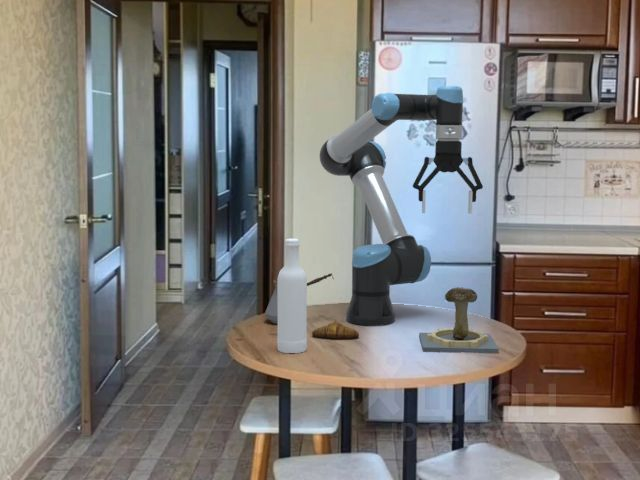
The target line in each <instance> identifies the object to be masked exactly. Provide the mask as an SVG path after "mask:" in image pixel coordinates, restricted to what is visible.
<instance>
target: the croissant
mask: <svg viewBox="0 0 640 480" xmlns="http://www.w3.org/2000/svg"><path fill="white" fill-rule="evenodd" d="M311 334H312V337H313V338H318V339H319V338H320V339H331V340H349V339H350V340H351V339H352V340H353V339H358V338H359V336H360V333H359V331H357V330H355V329H354V328H352V327H349V326H346V325H344V324H342V323H340V322H337V321H333V322H330V323H328V324H326V325H324V326H320V327H317V328H315V329H314V330H312V332H311Z"/></svg>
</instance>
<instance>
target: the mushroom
mask: <svg viewBox="0 0 640 480" xmlns="http://www.w3.org/2000/svg"><path fill="white" fill-rule="evenodd" d="M444 298H445V301H447V302H448V303H454V307H455V312H454V313H455V314H454V315H455V316H454V319H455V321H454V326H453V328H452V329H453V338H454V339H455V340H457V341H463V340H464V339H465V337H467V335H468V332H469V323H468V322H469V321H468V307H469V303H474V302H475V303H476V301H477V299H478V294H477V292H476V291H475V290H474V289H472V288H468V287H467V288H466V287H459V286H457V287H454V288H451V289H449V290H448V291H447V292H446V293H445V295H444Z"/></svg>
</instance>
